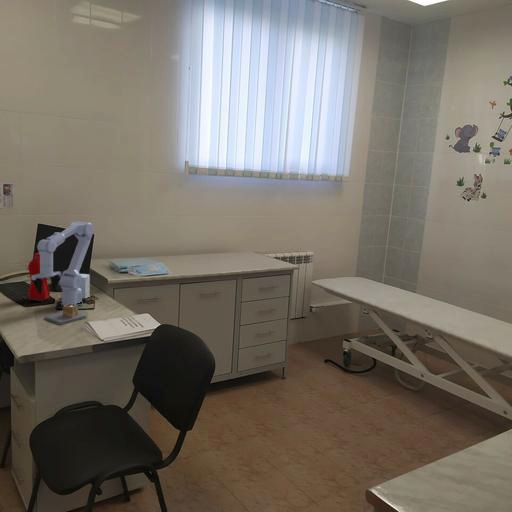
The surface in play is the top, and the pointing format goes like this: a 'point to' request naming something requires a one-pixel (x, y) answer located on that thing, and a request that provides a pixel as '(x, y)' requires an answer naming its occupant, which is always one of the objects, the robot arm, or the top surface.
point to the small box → (85, 285)
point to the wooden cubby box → (70, 310)
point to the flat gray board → (63, 318)
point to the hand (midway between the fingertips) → (46, 292)
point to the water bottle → (35, 269)
